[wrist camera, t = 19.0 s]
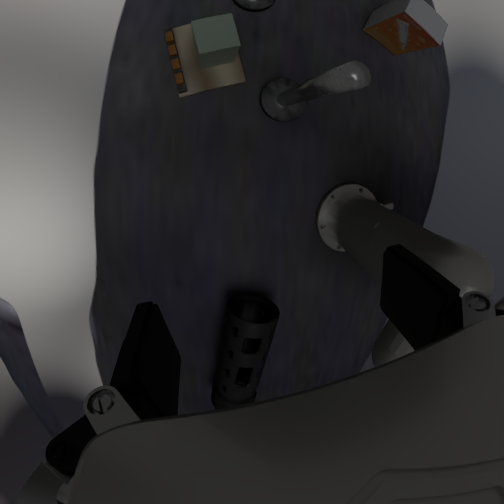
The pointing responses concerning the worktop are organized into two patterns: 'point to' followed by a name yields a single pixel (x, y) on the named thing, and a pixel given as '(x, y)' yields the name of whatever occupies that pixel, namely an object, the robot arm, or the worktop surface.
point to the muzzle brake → (243, 349)
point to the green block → (215, 40)
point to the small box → (406, 26)
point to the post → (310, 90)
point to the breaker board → (197, 65)
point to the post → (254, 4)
